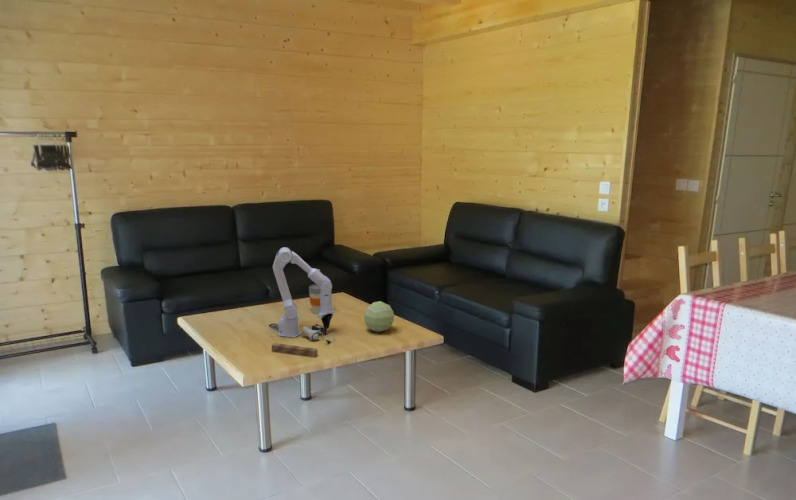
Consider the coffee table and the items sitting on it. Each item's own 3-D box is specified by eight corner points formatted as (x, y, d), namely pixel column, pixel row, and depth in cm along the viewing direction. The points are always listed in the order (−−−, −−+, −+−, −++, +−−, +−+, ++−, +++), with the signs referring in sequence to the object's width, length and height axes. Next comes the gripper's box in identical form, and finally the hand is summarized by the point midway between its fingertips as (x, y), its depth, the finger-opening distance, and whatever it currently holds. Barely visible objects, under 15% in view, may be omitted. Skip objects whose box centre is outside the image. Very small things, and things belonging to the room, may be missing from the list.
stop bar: (271, 351, 266) (271, 345, 266) (275, 349, 269) (275, 343, 269) (314, 357, 259) (314, 351, 259) (317, 355, 262) (317, 348, 262)
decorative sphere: (399, 332, 294) (399, 304, 291) (373, 337, 286) (373, 308, 283) (384, 324, 306) (384, 297, 304) (359, 329, 299) (359, 301, 296)
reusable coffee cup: (311, 308, 334) (310, 283, 331) (333, 309, 334) (332, 283, 331) (307, 315, 322) (306, 289, 319) (329, 315, 321) (329, 289, 318)
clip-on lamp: (339, 345, 283) (316, 329, 294) (342, 334, 281) (318, 318, 292) (321, 349, 274) (298, 333, 285) (323, 338, 273) (300, 321, 284)
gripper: (326, 306, 282) (327, 333, 285) (339, 299, 295) (339, 324, 298) (313, 305, 284) (314, 331, 287) (326, 297, 298) (327, 323, 300)
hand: (326, 328), depth 293 cm, fingers closed
